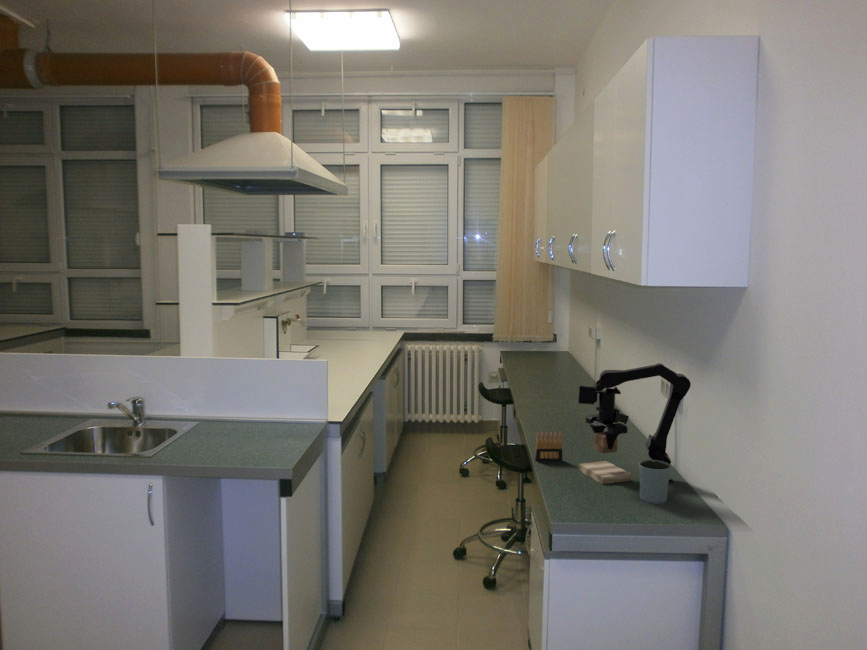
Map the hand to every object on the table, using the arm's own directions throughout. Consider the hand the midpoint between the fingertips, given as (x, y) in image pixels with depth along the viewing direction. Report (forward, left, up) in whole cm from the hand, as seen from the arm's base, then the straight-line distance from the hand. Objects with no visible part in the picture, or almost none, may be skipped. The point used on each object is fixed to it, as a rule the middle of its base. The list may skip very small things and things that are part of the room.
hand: (605, 446), depth 248 cm
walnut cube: (0, 0, -1) cm, 1 cm away
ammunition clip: (+22, +11, -11) cm, 27 cm away
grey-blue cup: (-26, -2, -11) cm, 28 cm away
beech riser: (0, 0, -11) cm, 11 cm away
